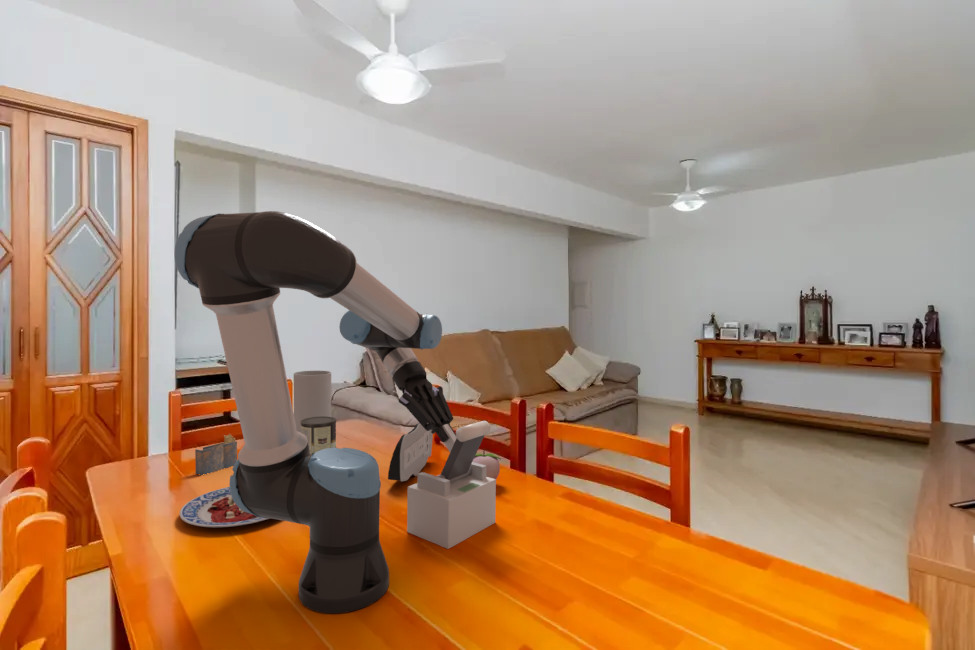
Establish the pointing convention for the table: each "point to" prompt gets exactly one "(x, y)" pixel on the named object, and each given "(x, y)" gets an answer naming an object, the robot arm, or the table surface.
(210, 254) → the robot arm
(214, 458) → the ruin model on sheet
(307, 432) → the coffee can
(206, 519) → the ceramic plate
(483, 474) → the box
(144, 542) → the table surface
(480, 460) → the decorative fruit
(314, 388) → the cylinder vase
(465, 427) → the lever
